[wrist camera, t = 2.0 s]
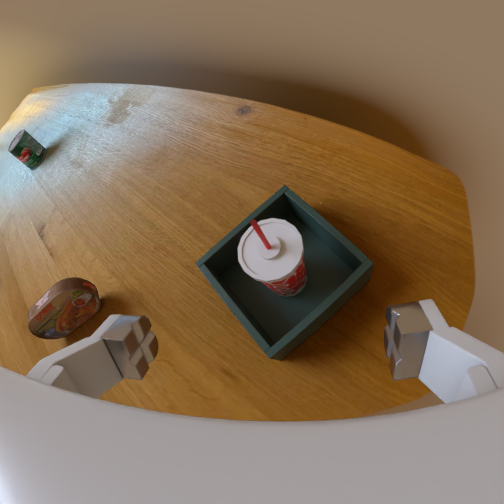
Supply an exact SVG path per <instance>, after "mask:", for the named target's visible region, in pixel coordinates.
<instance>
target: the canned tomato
mask: <svg viewBox="0 0 504 504" xmlns="http://www.w3.org/2000/svg"><path fill="white" fill-rule="evenodd" d="M8 151H9V152H10V153H11V154H13V155H14V156H15V157H16V158H17V159H19V160H20V161H21V162H22V163H24V164H25V165H26V166H27V167H29V168H30V169H31V170H34V169H36V168H37V167H38V166H39V165H40V163H41V162H42V160H43V159H44V157H45V155H46V152H47V150H46V149H45V148H44V147H43V146H42V145H41V144H40V143H38V142H37V141H36V140H35V139H34V138H33V137H32V136H31V135H30V134H28V133H27V132H26V131H25V130H24V129H23V130H21V131H20V132H19V133H18V134H17V135H16V137H15V138H14V139H13V141H12V142H11V144H10V146H9V149H8Z"/></svg>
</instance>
